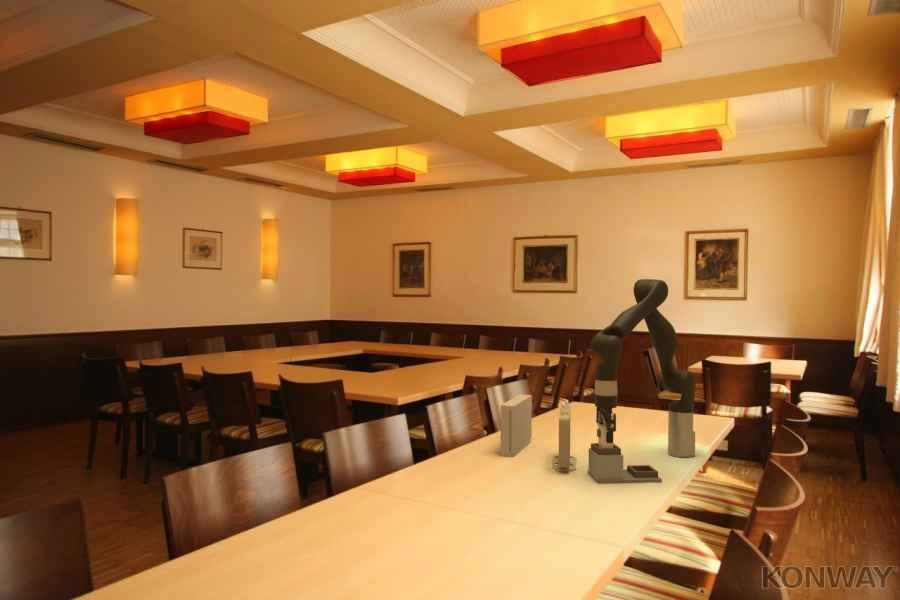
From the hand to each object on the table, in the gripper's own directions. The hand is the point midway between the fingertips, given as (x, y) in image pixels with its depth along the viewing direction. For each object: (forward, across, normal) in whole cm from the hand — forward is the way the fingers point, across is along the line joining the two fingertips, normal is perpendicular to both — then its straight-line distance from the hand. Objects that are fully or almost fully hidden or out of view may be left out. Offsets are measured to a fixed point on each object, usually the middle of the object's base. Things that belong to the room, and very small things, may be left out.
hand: (605, 440), depth 215 cm
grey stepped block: (+13, 0, -6) cm, 15 cm away
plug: (+4, 0, 0) cm, 4 cm away
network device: (+13, +18, +10) cm, 25 cm away
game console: (+13, +41, +24) cm, 50 cm away
